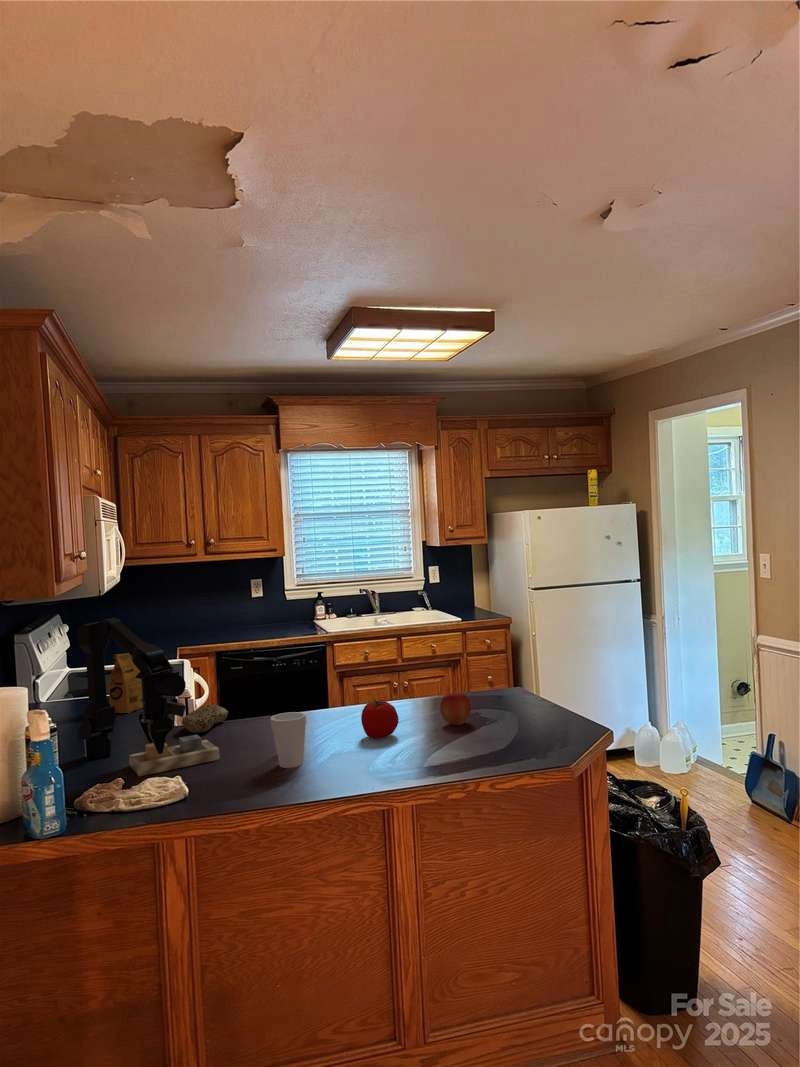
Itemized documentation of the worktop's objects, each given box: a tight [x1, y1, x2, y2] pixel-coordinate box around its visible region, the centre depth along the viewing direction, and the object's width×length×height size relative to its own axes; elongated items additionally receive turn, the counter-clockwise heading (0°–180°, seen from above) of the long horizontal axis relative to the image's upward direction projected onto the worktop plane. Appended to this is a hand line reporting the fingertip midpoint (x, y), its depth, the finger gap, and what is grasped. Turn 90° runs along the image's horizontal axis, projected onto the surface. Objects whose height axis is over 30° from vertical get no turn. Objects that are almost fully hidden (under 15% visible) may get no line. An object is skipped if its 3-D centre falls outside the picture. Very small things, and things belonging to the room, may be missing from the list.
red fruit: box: [360, 698, 399, 739], centre depth 226 cm, size 12×12×11 cm
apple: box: [439, 691, 472, 726], centre depth 236 cm, size 10×10×10 cm
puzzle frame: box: [128, 733, 221, 777], centre depth 214 cm, size 22×12×6 cm, turn 121°
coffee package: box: [107, 652, 143, 715], centre depth 286 cm, size 10×12×22 cm
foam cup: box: [270, 711, 307, 769], centre depth 205 cm, size 10×9×13 cm
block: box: [145, 742, 169, 761], centre depth 212 cm, size 5×5×6 cm
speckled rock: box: [181, 704, 229, 734], centre depth 251 cm, size 13×8×20 cm
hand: (156, 750), depth 212 cm, fingers open, 9 cm apart
